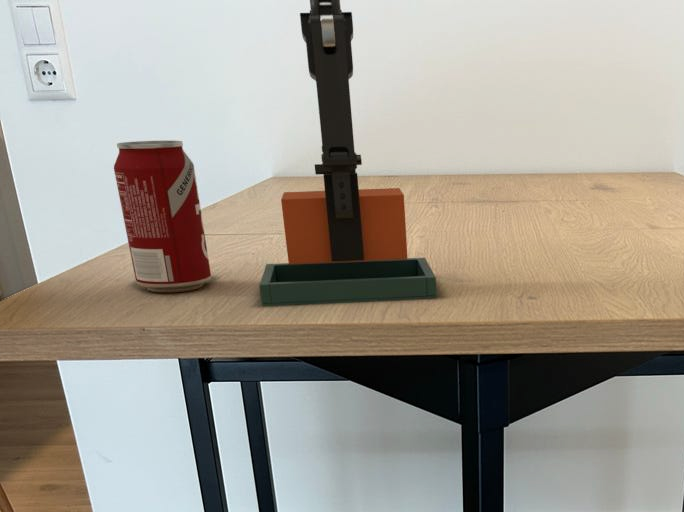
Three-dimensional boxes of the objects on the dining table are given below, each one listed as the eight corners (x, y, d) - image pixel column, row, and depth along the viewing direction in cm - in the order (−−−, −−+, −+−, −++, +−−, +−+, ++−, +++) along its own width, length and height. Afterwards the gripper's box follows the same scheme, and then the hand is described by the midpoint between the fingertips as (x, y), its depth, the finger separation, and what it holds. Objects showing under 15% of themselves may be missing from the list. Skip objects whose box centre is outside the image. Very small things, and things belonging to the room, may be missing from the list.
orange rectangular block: (403, 249, 84) (399, 188, 82) (407, 259, 79) (403, 194, 77) (290, 254, 83) (283, 192, 80) (288, 264, 78) (280, 199, 76)
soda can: (167, 297, 83) (140, 146, 77) (122, 289, 87) (92, 143, 81) (227, 285, 88) (206, 141, 82) (182, 278, 91) (158, 139, 85)
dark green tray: (262, 311, 78) (259, 284, 77) (269, 288, 86) (266, 263, 85) (436, 303, 79) (435, 277, 78) (426, 281, 88) (425, 257, 87)
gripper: (272, -65, 77) (305, 240, 89) (258, -102, 61) (301, 275, 73) (364, -66, 77) (384, 236, 89) (373, -102, 62) (397, 270, 74)
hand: (347, 253), depth 81 cm, fingers closed on orange rectangular block, 5 cm apart
